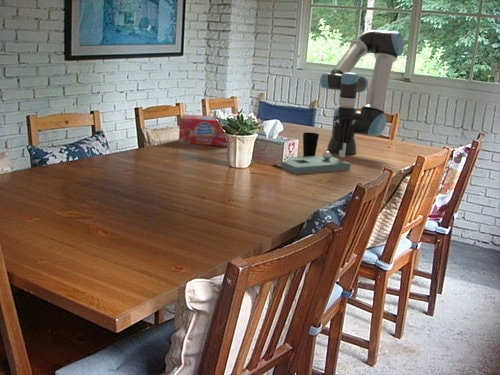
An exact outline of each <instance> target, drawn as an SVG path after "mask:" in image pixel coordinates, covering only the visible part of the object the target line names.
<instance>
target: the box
mask: <svg viewBox="0 0 500 375" xmlns="http://www.w3.org/2000/svg"><path fill="white" fill-rule="evenodd" d="M214 117H215V116H212V115H210V116H209V115H198V114H197V115H195V114H184V115H181V116H180V117H179V131H178V133H179V134H178V144H187V145H188V144H189V145H190V144H191V145H201V146H202V145H203V146H212V145H216V146H215V147H225V146H227V141H226V137H225V134H224V131H223V129H222V128H221V126H220V124H219V123H218V121H217V120H216V119H214ZM217 145H218V146H217Z"/></svg>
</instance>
